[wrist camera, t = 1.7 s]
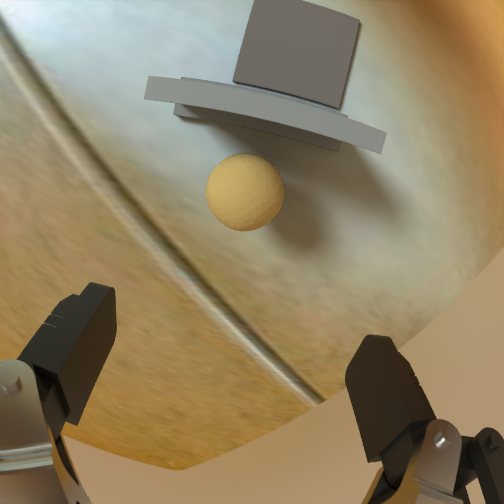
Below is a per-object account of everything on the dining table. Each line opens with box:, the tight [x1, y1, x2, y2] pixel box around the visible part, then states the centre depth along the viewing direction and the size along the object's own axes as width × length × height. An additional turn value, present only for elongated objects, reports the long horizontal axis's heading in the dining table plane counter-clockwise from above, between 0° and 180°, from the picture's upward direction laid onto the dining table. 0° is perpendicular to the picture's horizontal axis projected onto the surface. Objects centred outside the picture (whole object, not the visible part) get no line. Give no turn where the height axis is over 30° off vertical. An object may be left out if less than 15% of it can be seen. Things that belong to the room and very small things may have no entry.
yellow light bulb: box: [206, 153, 284, 231], centre depth 26 cm, size 6×6×10 cm
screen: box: [144, 76, 387, 154], centre depth 23 cm, size 4×17×12 cm, turn 77°
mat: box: [233, 0, 360, 108], centre depth 25 cm, size 11×11×1 cm
